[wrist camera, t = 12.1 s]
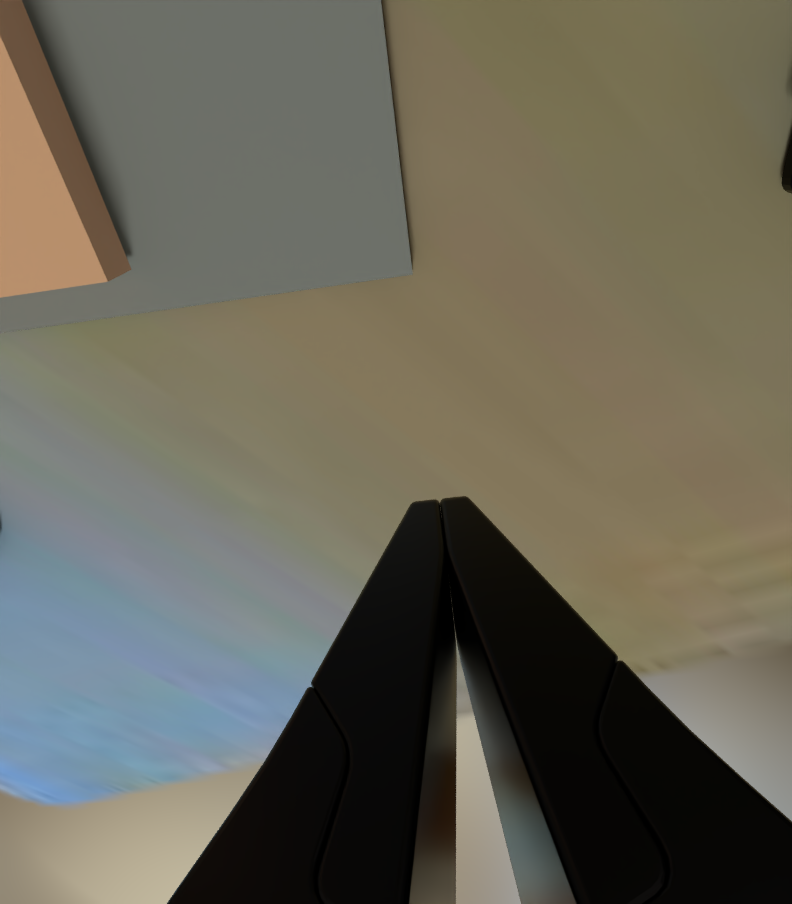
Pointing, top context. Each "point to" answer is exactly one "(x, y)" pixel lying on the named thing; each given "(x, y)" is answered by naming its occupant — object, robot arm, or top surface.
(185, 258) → the slate mat
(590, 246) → the top surface
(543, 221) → the top surface
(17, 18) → the tile
